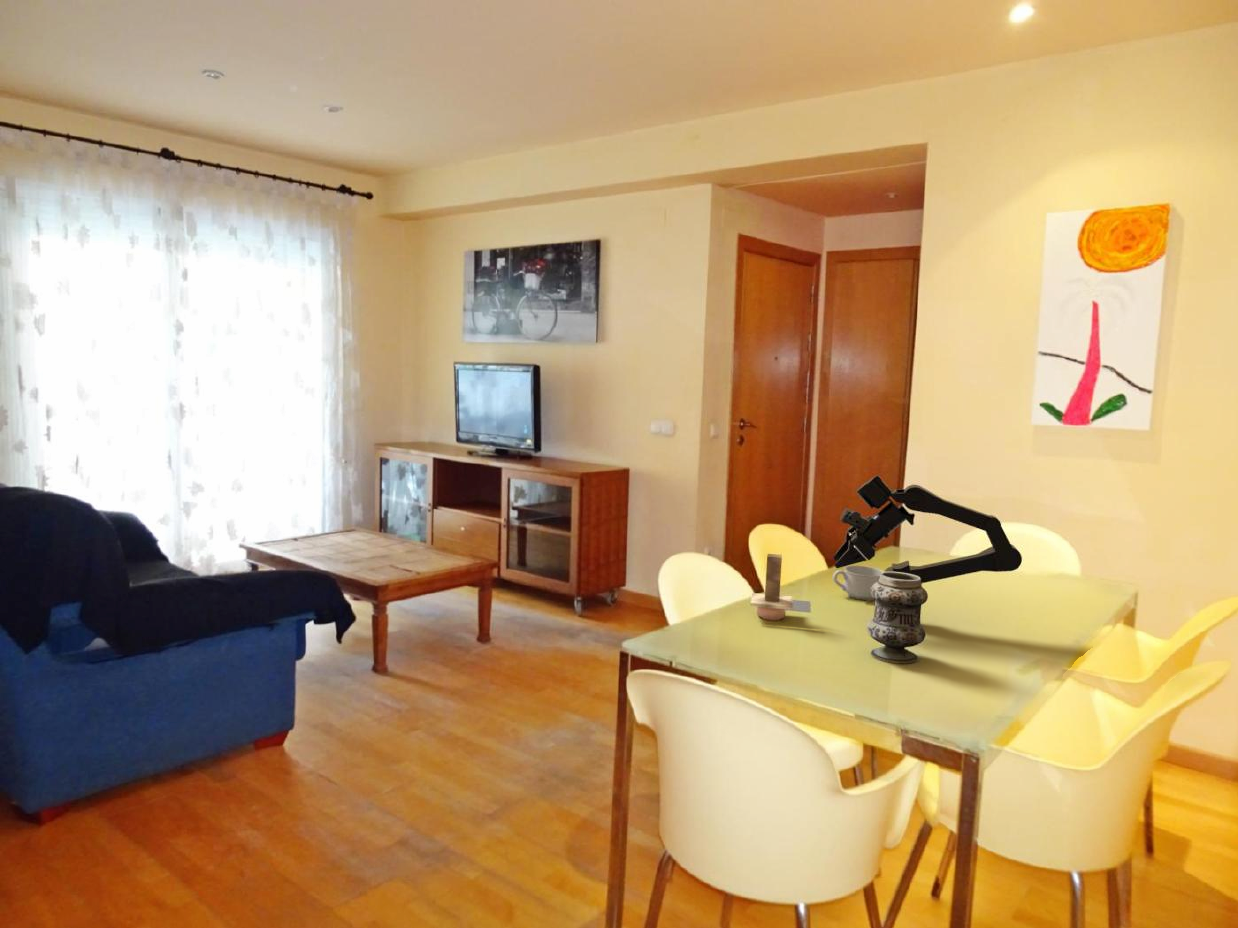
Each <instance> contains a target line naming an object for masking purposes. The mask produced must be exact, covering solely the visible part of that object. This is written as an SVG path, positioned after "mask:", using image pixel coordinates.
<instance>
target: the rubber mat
mask: <svg viewBox="0 0 1238 928" xmlns="http://www.w3.org/2000/svg"><path fill="white" fill-rule="evenodd" d="M786 611H791V612H792V611H793V612H803V613H811V601H809V600H799V599H793V609H792V610H788V609H786Z"/></svg>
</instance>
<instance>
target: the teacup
mask: <svg viewBox="0 0 1238 928" xmlns="http://www.w3.org/2000/svg"><path fill="white" fill-rule="evenodd" d="M843 569H844V570H841V569H839V570H835V571H834V573H833V574H832V581H833V582H834V583H835V585H836V586H838V587H840V588H841V589H842V591H844V592H845V593H847V595H848V597H851V598H853V599H857V600H863V601H866V602H867V601H868V602H869V601H870V602H871V601H875V598H873V596H872V595H871V587H872V586H873V585H874V584H875V583H876V582H878V581H879V579H880V574H881V573H882V572H885V570H882V569H880V568H876V567H873V566H868V565H858V564H857V565H854V564H851V565H848V566H844V567H843ZM840 574H841V575H842V576H843V583H841V582H839V581H838V576H839V575H840Z"/></svg>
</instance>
